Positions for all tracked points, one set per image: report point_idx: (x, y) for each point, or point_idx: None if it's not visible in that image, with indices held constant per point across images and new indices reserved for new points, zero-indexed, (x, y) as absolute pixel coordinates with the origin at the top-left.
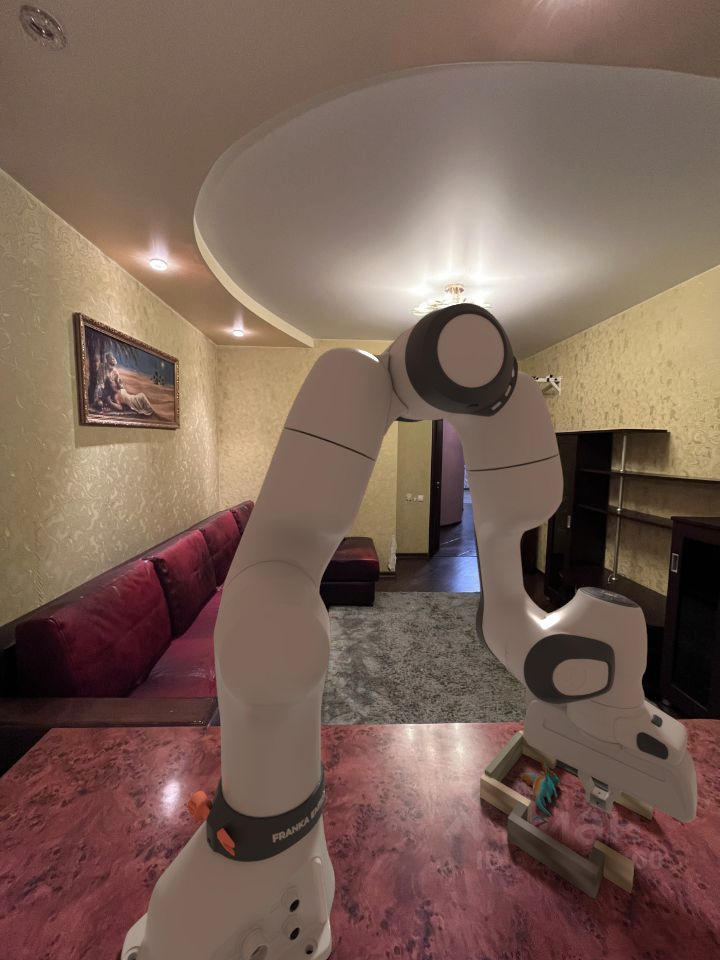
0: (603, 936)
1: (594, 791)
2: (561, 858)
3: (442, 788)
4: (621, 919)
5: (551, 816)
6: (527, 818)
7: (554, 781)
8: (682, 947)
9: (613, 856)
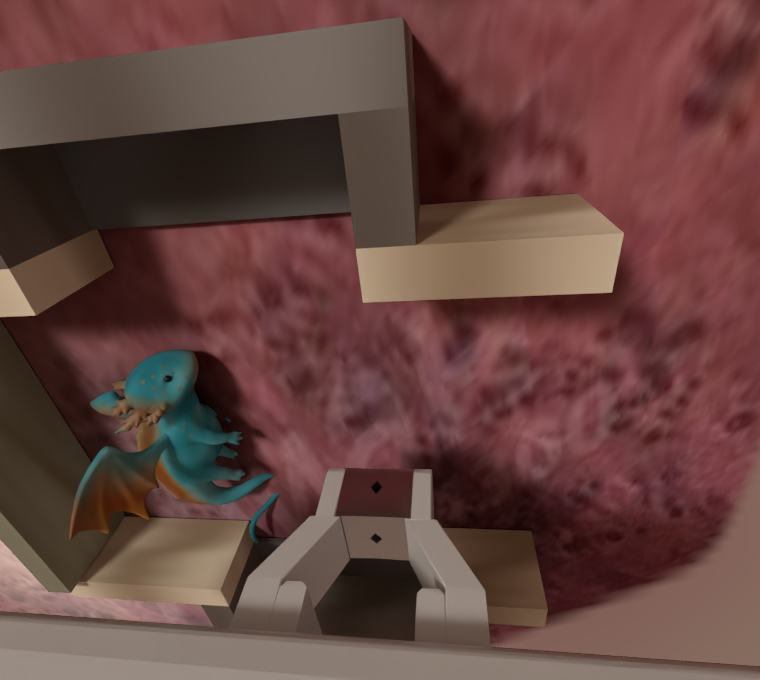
0: (493, 628)
1: (355, 541)
2: None
3: None
4: None
5: (272, 475)
6: (245, 563)
7: (184, 401)
8: (644, 583)
9: (489, 619)
